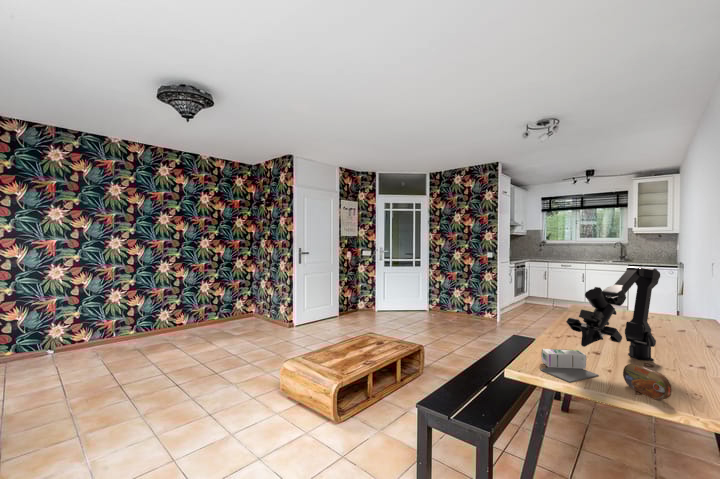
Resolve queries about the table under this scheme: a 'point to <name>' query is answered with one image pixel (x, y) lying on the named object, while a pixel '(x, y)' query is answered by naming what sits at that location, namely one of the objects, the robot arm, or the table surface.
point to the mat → (569, 373)
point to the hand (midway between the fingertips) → (582, 345)
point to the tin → (647, 381)
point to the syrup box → (563, 358)
